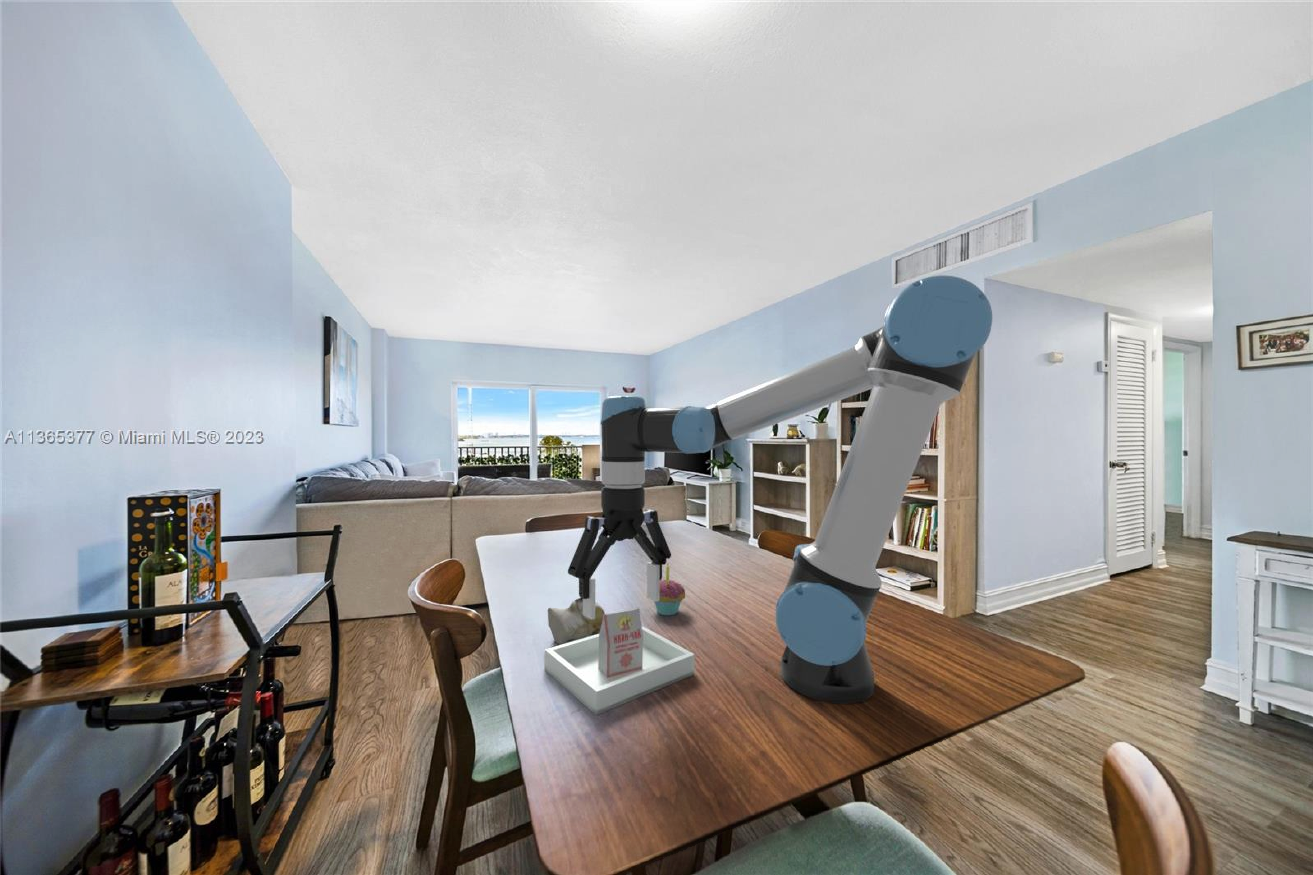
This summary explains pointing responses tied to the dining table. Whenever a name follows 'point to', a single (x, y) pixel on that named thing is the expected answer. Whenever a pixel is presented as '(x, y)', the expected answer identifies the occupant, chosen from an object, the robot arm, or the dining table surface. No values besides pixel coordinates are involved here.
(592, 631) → the ceramic sculpture
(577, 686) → the tray
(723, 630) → the dining table surface
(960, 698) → the dining table surface
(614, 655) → the white printed box
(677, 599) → the cupcake
